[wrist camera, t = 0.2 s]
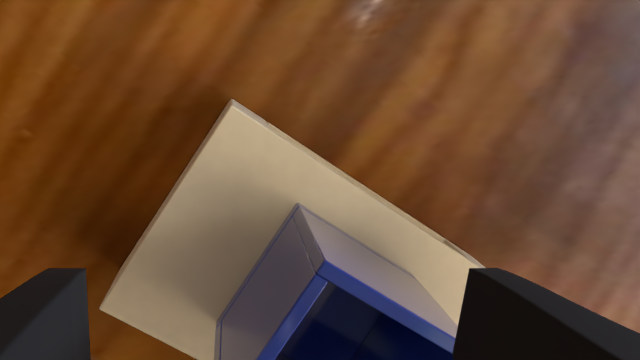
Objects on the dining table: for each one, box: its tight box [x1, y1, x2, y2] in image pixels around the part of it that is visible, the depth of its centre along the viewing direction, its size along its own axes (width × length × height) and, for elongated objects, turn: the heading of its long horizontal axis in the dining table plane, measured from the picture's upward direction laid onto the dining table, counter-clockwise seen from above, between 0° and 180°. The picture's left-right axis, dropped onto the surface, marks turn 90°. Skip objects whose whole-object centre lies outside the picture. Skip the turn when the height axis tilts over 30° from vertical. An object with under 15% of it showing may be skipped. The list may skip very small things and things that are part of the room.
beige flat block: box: [99, 99, 485, 360], centre depth 21 cm, size 8×12×4 cm, turn 56°
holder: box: [214, 203, 458, 360], centre depth 16 cm, size 5×5×6 cm
